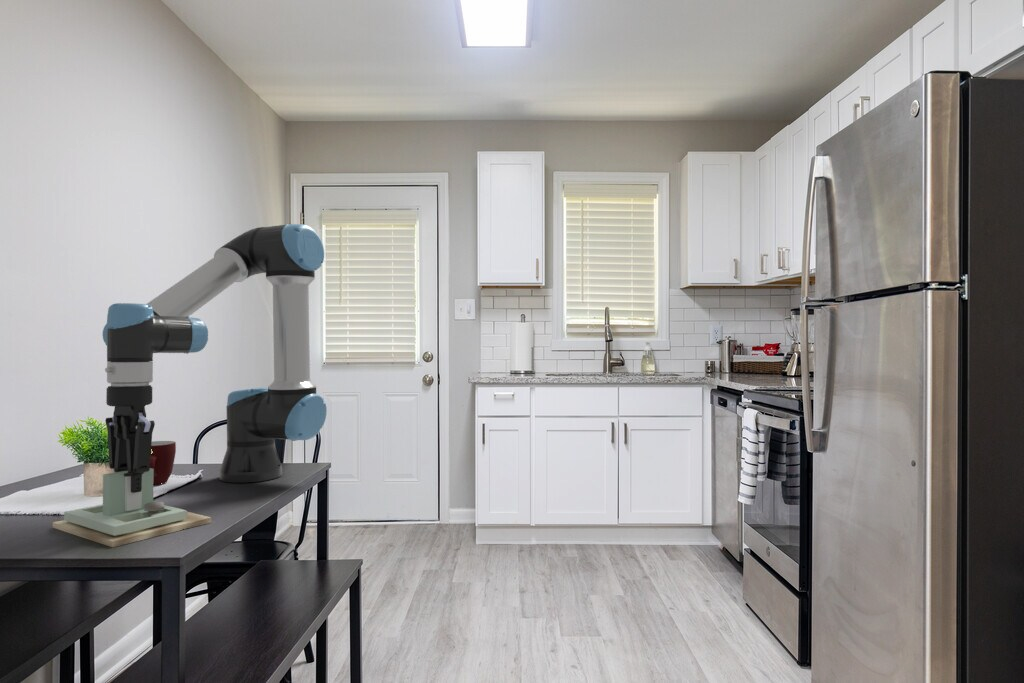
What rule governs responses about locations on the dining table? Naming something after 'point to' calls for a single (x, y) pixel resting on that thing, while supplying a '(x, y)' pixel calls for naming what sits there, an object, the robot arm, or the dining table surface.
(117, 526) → the panel
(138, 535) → the boss board
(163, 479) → the mug
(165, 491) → the dining table surface
